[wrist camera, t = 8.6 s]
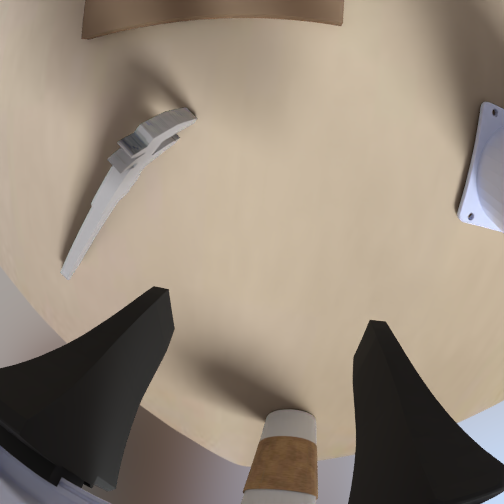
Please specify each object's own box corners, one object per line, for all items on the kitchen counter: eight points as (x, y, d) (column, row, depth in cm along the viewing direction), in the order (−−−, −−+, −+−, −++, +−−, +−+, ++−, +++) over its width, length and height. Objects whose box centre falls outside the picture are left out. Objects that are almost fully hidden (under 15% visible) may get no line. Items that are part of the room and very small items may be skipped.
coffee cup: (338, 410, 28) (330, 536, 16) (311, 438, 33) (299, 540, 20) (264, 396, 29) (236, 528, 16) (249, 426, 33) (224, 530, 21)
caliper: (189, 105, 16) (133, 116, 11) (201, 117, 16) (150, 133, 11) (64, 270, 25) (26, 308, 20) (72, 277, 26) (34, 317, 20)
